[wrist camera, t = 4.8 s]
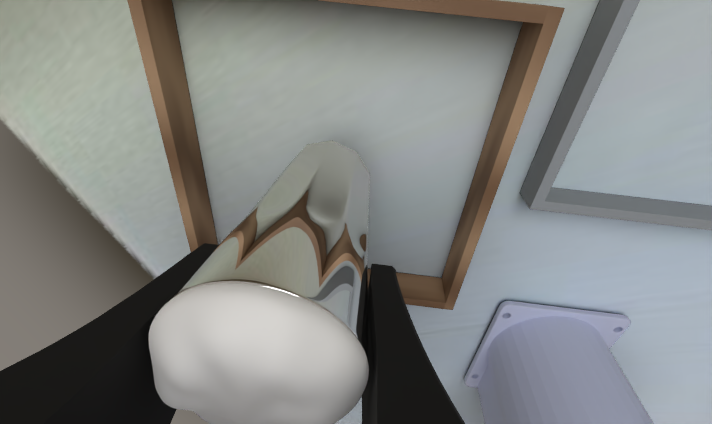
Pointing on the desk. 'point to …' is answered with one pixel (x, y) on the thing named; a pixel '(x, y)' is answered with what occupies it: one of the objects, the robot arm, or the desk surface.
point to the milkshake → (277, 305)
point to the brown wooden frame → (531, 50)
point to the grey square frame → (566, 122)
